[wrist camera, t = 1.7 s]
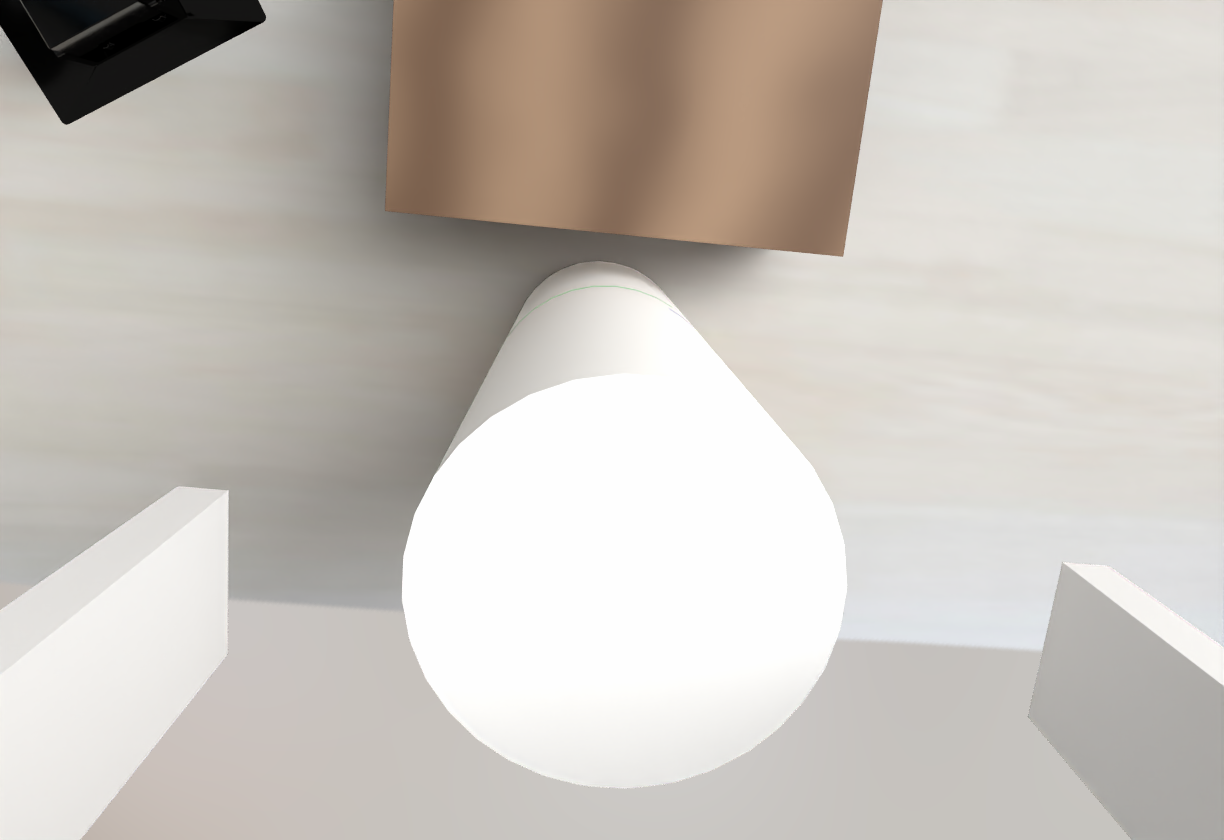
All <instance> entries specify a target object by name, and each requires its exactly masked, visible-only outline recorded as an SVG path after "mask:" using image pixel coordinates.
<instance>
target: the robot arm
mask: <svg viewBox="0 0 1224 840" xmlns="http://www.w3.org/2000/svg"><path fill="white" fill-rule="evenodd" d="M228 497H229V490H217V489H205V488H194V487H182V486H177V487H176V488H174V489H173V490H171V491H170V492H169V493H167V494H166V495H164V496H163V497H161V498H160V499H159V500H157V501H156V502H154V503H153V504H151V505H150V506H148V507H147V508H146V509H144V510H143V511H141V512H140V513H138V514H137V515H136V516H134V517H133V518H131V519H130V520H128V521H127V522H126V523H124V524H123V525H121V526H120V527H118V528H117V529H115V530H114V531H113V532H111V533H110V534H108V535H107V536H105V537H104V538H103V539H101V540H100V541H98V542H97V543H95V544H94V545H93V546H91V547H90V548H88V549H87V550H85V551H84V552H82V553H81V554H80V555H78V556H77V557H75V558H74V559H72V560H71V561H70V562H68V563H67V564H65V565H64V566H62V567H61V568H60V569H58V570H57V571H55V572H54V573H52V574H51V575H49V576H48V577H47V578H45V579H44V580H42V581H41V582H39V583H38V584H37V585H35V586H34V587H32V588H31V589H29V590H28V591H27V592H25V593H24V594H22V595H21V596H19V597H18V598H16V599H15V600H14V601H12V602H11V603H9V604H8V605H6V606H5V607H4V608H2V609H1V610H0V840H81V838H82V837H83V836H84V835H85V833H86V832H87V831H88V830H89V829H90V827H91V826H92V824H94V822H95V821H96V820H97V818H98V817H99V816H100V815H101V813H102V812H103V811H104V810H105V808H106V807H107V806H108V805H109V803H110V802H111V801H112V800H113V798H114V797H115V796H116V795H117V793H118V792H119V791H120V790H121V788H122V787H123V786H124V785H125V783H126V782H127V781H128V779H129V778H130V777H131V776H132V774H133V773H134V772H135V771H136V769H137V768H138V767H139V766H140V764H141V763H142V762H143V761H144V759H145V758H146V757H147V756H148V754H149V753H150V752H151V751H152V749H153V748H154V747H155V746H156V744H157V743H158V742H159V740H160V739H161V738H162V737H163V735H164V734H165V733H166V732H167V730H168V729H169V728H170V727H171V725H172V724H173V723H174V722H175V720H176V719H177V718H178V717H179V715H180V714H181V713H182V712H183V710H184V709H185V708H186V706H187V705H188V704H189V703H190V701H191V700H192V699H193V698H194V696H195V695H196V694H197V693H198V691H199V690H200V689H201V687H202V686H203V685H204V684H205V683H206V681H207V680H208V679H209V677H210V676H211V675H212V674H213V672H214V671H215V670H216V669H217V667H218V666H219V665H220V664H221V662H222V661H223V660H224V659H225V657H226V656H227V655H228ZM1028 718H1029V719H1030V720H1031V721H1032V722H1033V724H1034V725H1035V726H1036V727H1037V728H1038V729H1039V731H1040V732H1041V733H1042V734H1043V735H1044V737H1045V738H1046V739H1047V740H1048V741H1049V742H1050V744H1051V745H1052V746H1053V747H1054V748H1055V749H1056V751H1057V752H1058V753H1059V754H1060V756H1061V757H1062V758H1063V759H1064V760H1065V761H1066V763H1067V764H1068V765H1069V766H1070V767H1071V769H1072V770H1073V771H1074V772H1075V773H1076V774H1077V776H1078V777H1079V778H1080V779H1081V780H1082V782H1084V784H1085V785H1086V786H1087V787H1088V789H1089V790H1090V791H1091V792H1092V793H1093V795H1094V796H1095V797H1096V798H1097V799H1098V800H1099V802H1100V803H1101V804H1102V805H1103V806H1104V807H1105V809H1106V810H1107V811H1108V812H1109V813H1110V815H1111V816H1112V817H1113V818H1114V819H1115V821H1116V822H1117V823H1118V824H1119V825H1120V827H1121V828H1122V829H1123V830H1124V831H1125V832H1126V833H1127V835H1128V836H1129V837H1130V838H1131V840H1224V647H1223V646H1221V645H1220V644H1219V643H1217V642H1216V641H1214V640H1213V639H1212V638H1210V637H1209V636H1207V635H1206V634H1204V633H1203V632H1202V631H1200V630H1199V629H1197V628H1196V627H1195V626H1193V625H1192V624H1190V623H1189V622H1187V621H1186V620H1185V619H1183V618H1182V617H1180V616H1179V615H1178V614H1176V613H1175V612H1173V611H1172V610H1171V609H1169V608H1168V607H1166V606H1165V605H1163V604H1162V603H1161V602H1159V601H1158V600H1156V599H1155V598H1154V597H1152V596H1151V595H1149V594H1148V593H1146V592H1145V591H1144V590H1142V589H1141V588H1139V587H1138V586H1137V585H1135V584H1134V583H1132V582H1131V581H1130V580H1128V579H1127V578H1125V577H1124V576H1122V575H1121V574H1120V573H1118V572H1117V571H1115V570H1114V569H1113V568H1111V567H1110V566H1103V565H1091V564H1080V563H1068V562H1062V566H1061V571H1060V575H1059V580H1058V584H1057V589H1056V593H1055V598H1054V602H1053V607H1052V611H1051V615H1050V620H1049V624H1048V629H1047V633H1046V638H1045V642H1044V647H1043V651H1042V656H1041V660H1040V665H1039V669H1038V673H1037V678H1036V683H1035V687H1034V692H1033V696H1032V700H1031V705H1030V709H1029V714H1028Z"/></svg>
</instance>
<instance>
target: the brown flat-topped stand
mask: <svg viewBox="0 0 1224 840" xmlns="http://www.w3.org/2000/svg"><path fill="white" fill-rule="evenodd" d="M882 1H883V0H394V5H393V29H392V53H391V78H390V102H389V126H388V150H387V174H386V199H385V211H391V212H401V213H411V214H421V215H431V216H441V217H451V218H461V219H471V220H481V221H491V222H501V223H511V224H521V225H531V226H541V227H551V228H561V229H571V230H581V231H591V232H601V233H611V234H621V235H631V236H641V237H651V238H661V239H671V240H682V241H692V242H702V243H712V244H722V245H732V246H742V247H752V248H762V249H772V250H782V251H792V252H802V253H812V254H822V255H832V256H842V257H843V254H844V247H845V241H846V234H847V228H848V222H849V215H850V209H851V202H852V196H853V189H854V183H855V176H856V170H857V163H858V157H859V150H860V144H861V137H862V131H863V124H864V118H865V111H866V105H867V99H868V92H869V86H870V79H871V73H872V66H873V60H874V53H875V47H876V40H877V34H878V27H879V21H880V14H881V8H882Z"/></svg>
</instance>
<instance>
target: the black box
mask: <svg viewBox="0 0 1224 840" xmlns="http://www.w3.org/2000/svg"><path fill="white" fill-rule="evenodd" d="M265 20H266V15H265V13H264V11H263V9H262V7H261V5H260V3H259V1H258V0H0V26H1V27H2V29H3V30H4V32H5V34H6V35H7V37H8V38H9V40H10V41H11V43H12V45H13V46H14V48H15V49H16V51H17V52H18V54H19V56H20V57H21V59H22V60H23V62H24V63H25V65H26V67H27V68H28V70H29V71H30V73H31V74H32V76H33V77H34V79H35V81H36V82H37V84H38V85H39V87H40V88H41V90H42V92H43V93H44V95H45V96H46V98H47V99H48V101H49V103H50V104H51V106H52V107H53V109H54V110H55V112H56V114H57V115H58V117H59V118H60V120H61V121H62V123H64V124H66V125H67V124H70V123H72V122H74V121H76V120H78V119H80V118H81V117H83V116H85V115H87V114H89V113H91V112H93V111H95V110H97V109H99V108H101V107H102V106H104V105H106V104H108V103H110V102H112V101H114V100H116V99H118V98H120V97H122V96H123V95H125V94H127V93H129V92H131V91H133V90H135V89H137V88H139V87H141V86H142V85H144V84H146V83H148V82H150V81H152V80H154V79H156V78H158V77H160V76H162V75H163V74H165V73H167V72H169V71H171V70H173V69H175V68H177V67H179V66H181V65H183V64H184V63H186V62H188V61H190V60H192V59H194V58H196V57H198V56H200V55H202V54H203V53H205V52H207V51H209V50H211V49H213V48H215V47H217V46H219V45H221V44H223V43H224V42H226V41H228V40H230V39H232V38H234V37H236V36H238V35H240V34H242V33H244V32H245V31H247V30H249V29H251V28H253V27H255V26H257V25H259V24H261V23H263V22H264V21H265Z"/></svg>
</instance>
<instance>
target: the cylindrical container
mask: <svg viewBox="0 0 1224 840" xmlns="http://www.w3.org/2000/svg"><path fill="white" fill-rule="evenodd" d="M846 591H847V577H846V561H845V545H844V541H843V538H842V534H841V531H840V527H839V524H838V520H837V517H836V513H835V510H834V507H833V503H832V502H831V500H830V498H829V496H828V494H827V492H826V490H825V489H824V487H823V485H822V483H821V481H820V479H819V478H818V476H817V474H816V472H815V470H814V468H813V467H812V466H811V464H810V463H809V462H808V461H807V460H806V458H805V457H804V456H803V455H802V454H801V453H800V451H799V450H798V449H797V448H796V447H795V445H794V444H793V443H792V442H791V441H790V439H789V438H788V437H787V436H786V435H785V434H784V432H783V431H782V430H781V429H780V428H779V427H778V425H777V424H776V423H775V422H774V421H773V420H772V418H771V417H770V416H769V415H768V414H767V413H766V411H765V410H764V409H763V408H762V407H761V406H760V404H759V403H758V402H757V401H756V400H755V398H754V397H753V396H752V395H751V394H750V393H749V391H748V390H747V389H746V388H745V387H744V386H743V384H742V383H741V382H740V381H739V380H738V379H737V377H736V376H735V375H734V374H733V373H732V372H731V370H730V369H729V368H728V367H727V366H726V365H725V363H724V362H723V361H722V360H721V359H720V358H719V356H718V355H717V354H716V353H715V352H714V351H713V349H712V348H711V347H710V346H709V345H708V344H707V342H706V341H705V340H704V339H703V338H702V337H701V335H700V334H699V333H698V332H697V331H696V330H695V328H694V327H693V326H692V325H691V324H690V323H689V321H688V320H687V319H686V318H685V317H684V316H683V314H682V313H681V312H680V311H679V310H678V309H677V307H676V306H675V305H674V304H673V303H672V302H671V300H670V299H669V298H668V297H667V296H666V294H665V293H664V292H663V291H662V290H661V289H660V287H659V286H658V285H657V284H655V283H654V282H653V281H652V280H650V279H649V278H648V277H647V276H646V275H644V274H642V273H640V272H638V271H636V270H634V269H633V268H631V267H627V266H624V265H621V264H617V263H613V262H602V261H593V262H585V263H578V264H575V265H572V266H569V267H566V268H563V269H561V270H560V271H558V272H556V273H554V274H553V275H551V276H549V277H548V278H547V279H545V280H544V281H543V282H542V283H541V284H540V285H539V286H537V287H536V288H535V290H534V291H533V292H532V294H531V295H530V296H529V297H528V299H527V300H526V302H525V304H524V306H523V308H522V309H521V311H520V313H519V315H518V317H517V319H516V321H515V323H514V325H513V327H512V328H511V330H510V332H509V334H508V336H507V338H506V340H505V342H504V344H503V345H502V347H501V349H500V351H499V353H498V355H497V357H496V359H495V360H494V362H493V364H492V366H491V368H490V370H489V372H488V374H487V376H486V378H485V380H484V381H483V383H482V385H481V387H480V389H479V391H478V393H477V395H476V397H475V399H474V401H473V403H472V404H471V406H470V408H469V410H468V412H467V414H466V416H465V418H464V420H463V422H462V424H461V425H460V427H459V429H458V431H457V433H456V435H455V437H454V439H453V441H452V443H451V445H450V446H449V448H448V450H447V452H446V454H445V456H444V458H443V460H442V462H441V464H440V466H439V468H438V469H437V471H436V473H435V475H434V477H433V479H432V481H431V483H430V485H429V487H428V489H427V491H426V493H425V495H424V497H423V499H422V501H421V503H420V505H419V506H418V508H417V510H416V512H415V515H414V518H413V522H412V526H411V530H410V533H409V537H408V541H407V545H406V548H405V552H404V557H403V582H402V602H403V608H404V613H405V618H406V624H407V629H408V635H409V640H410V643H411V645H412V647H413V650H414V652H415V654H416V657H417V659H418V662H419V664H420V666H421V669H422V671H423V673H424V676H425V678H426V680H427V681H428V683H429V684H430V685H431V687H432V689H433V690H434V692H435V693H436V694H437V696H438V697H439V699H440V700H441V701H442V703H443V704H444V706H445V707H446V709H447V710H448V712H449V713H450V714H451V715H452V716H453V717H454V718H455V719H456V720H457V721H458V722H460V723H461V724H462V725H463V726H464V727H465V728H466V729H467V730H468V731H469V732H470V733H471V734H472V735H473V736H474V737H475V738H476V739H477V740H479V741H481V742H482V743H484V744H485V745H486V746H488V747H489V748H491V749H492V750H494V751H495V752H497V753H498V754H500V755H501V756H503V757H504V758H505V759H507V760H509V761H512V762H513V763H516V764H518V765H520V766H522V767H525V768H527V769H529V770H531V771H534V772H536V773H538V774H540V775H543V776H546V777H550V778H554V779H558V780H562V781H566V782H570V783H574V784H578V785H582V786H592V787H609V788H627V789H629V788H638V787H645V786H654V785H661V784H669V783H674V782H677V781H680V780H683V779H687V778H690V777H693V776H696V775H699V774H703V773H706V772H709V771H712V770H714V769H716V768H718V767H720V766H722V765H724V764H726V763H727V762H729V761H731V760H733V759H735V758H737V757H739V756H741V755H743V754H745V753H747V752H748V751H750V750H751V749H752V748H754V747H755V746H756V745H758V744H759V743H760V742H762V741H763V740H764V739H766V738H767V737H768V736H770V735H771V734H772V733H773V732H775V731H776V730H777V729H779V728H780V726H781V725H782V724H783V723H784V722H785V721H786V720H787V719H788V718H789V717H790V715H792V713H793V712H794V711H795V710H796V709H797V708H798V707H799V706H800V705H801V704H802V703H803V702H804V700H805V699H806V697H807V696H808V694H809V693H810V691H811V689H812V688H813V686H814V685H815V683H816V682H817V680H818V678H819V677H820V675H821V674H822V672H823V671H824V669H825V667H826V665H827V662H828V660H829V657H830V655H831V652H832V649H833V647H834V644H835V642H836V639H837V636H838V634H839V631H840V629H841V622H842V616H843V610H844V604H845V597H846Z"/></svg>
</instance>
